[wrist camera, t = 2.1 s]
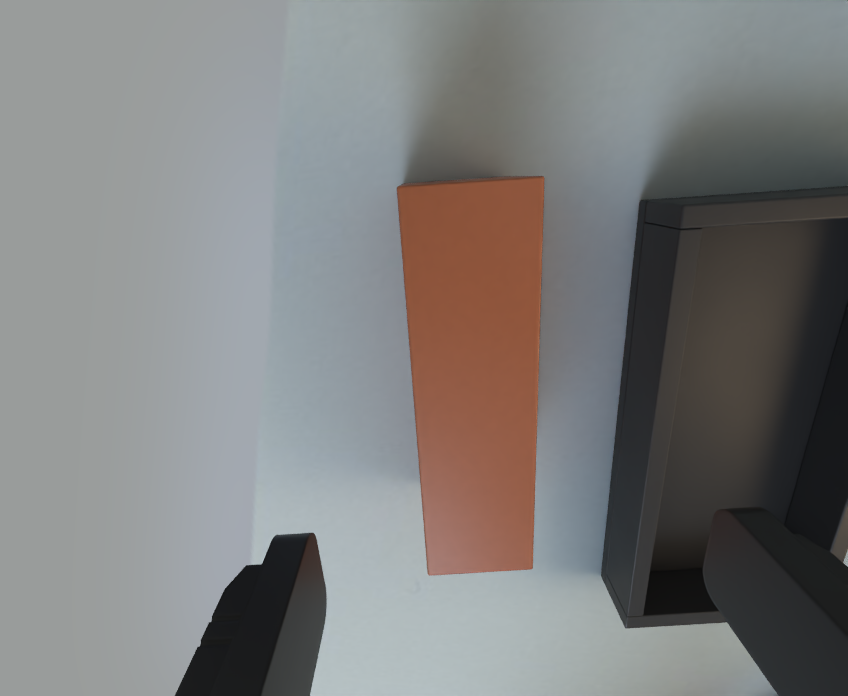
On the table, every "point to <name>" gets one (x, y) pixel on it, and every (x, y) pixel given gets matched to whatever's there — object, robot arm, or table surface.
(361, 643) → the table surface
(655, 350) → the tray
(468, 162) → the table surface
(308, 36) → the table surface
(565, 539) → the table surface
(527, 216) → the rectangular block
